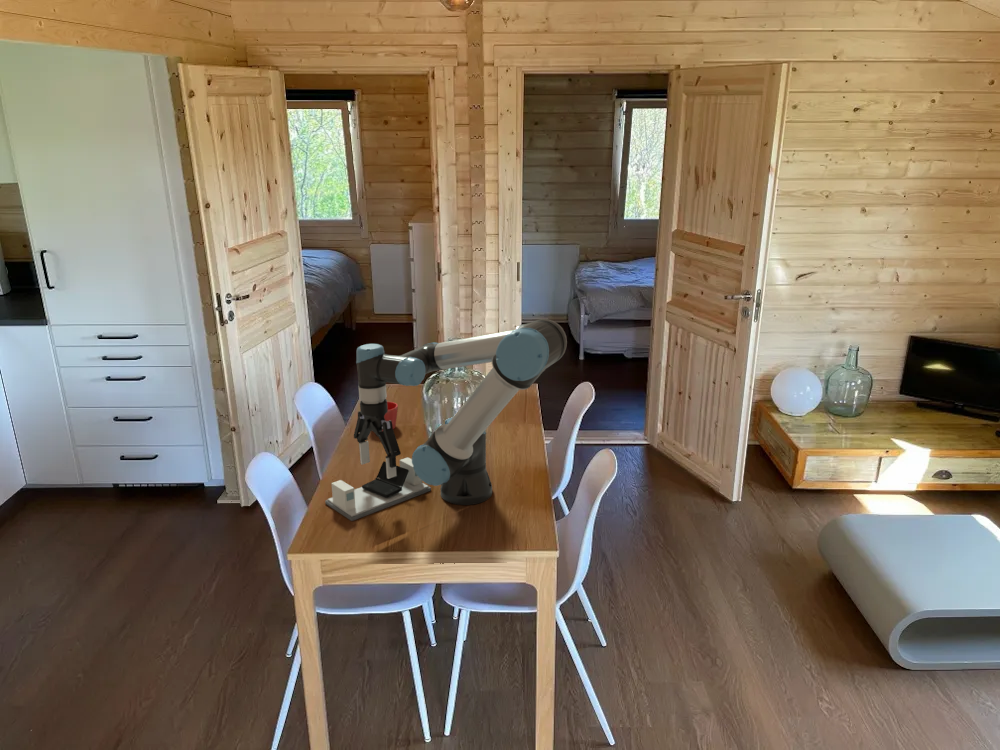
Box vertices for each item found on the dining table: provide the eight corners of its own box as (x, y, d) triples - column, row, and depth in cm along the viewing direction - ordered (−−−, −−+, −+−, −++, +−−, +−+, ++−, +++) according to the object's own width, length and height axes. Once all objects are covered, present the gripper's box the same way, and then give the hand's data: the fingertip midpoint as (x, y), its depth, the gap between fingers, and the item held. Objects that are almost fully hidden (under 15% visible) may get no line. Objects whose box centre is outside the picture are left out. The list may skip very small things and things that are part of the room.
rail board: (431, 490, 213) (430, 467, 211) (351, 521, 196) (349, 496, 194) (403, 475, 223) (402, 453, 221) (325, 503, 206) (323, 479, 203)
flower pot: (365, 428, 261) (363, 403, 259) (394, 424, 265) (393, 399, 263) (372, 439, 252) (370, 412, 249) (402, 434, 256) (401, 408, 253)
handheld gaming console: (365, 494, 212) (360, 486, 210) (388, 468, 218) (383, 460, 216) (390, 504, 206) (385, 496, 204) (413, 477, 211) (408, 469, 209)
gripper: (410, 407, 194) (414, 479, 200) (360, 387, 212) (365, 453, 218) (387, 413, 189) (392, 487, 196) (338, 392, 207) (344, 461, 213)
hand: (378, 470), depth 207 cm, fingers open, 13 cm apart
